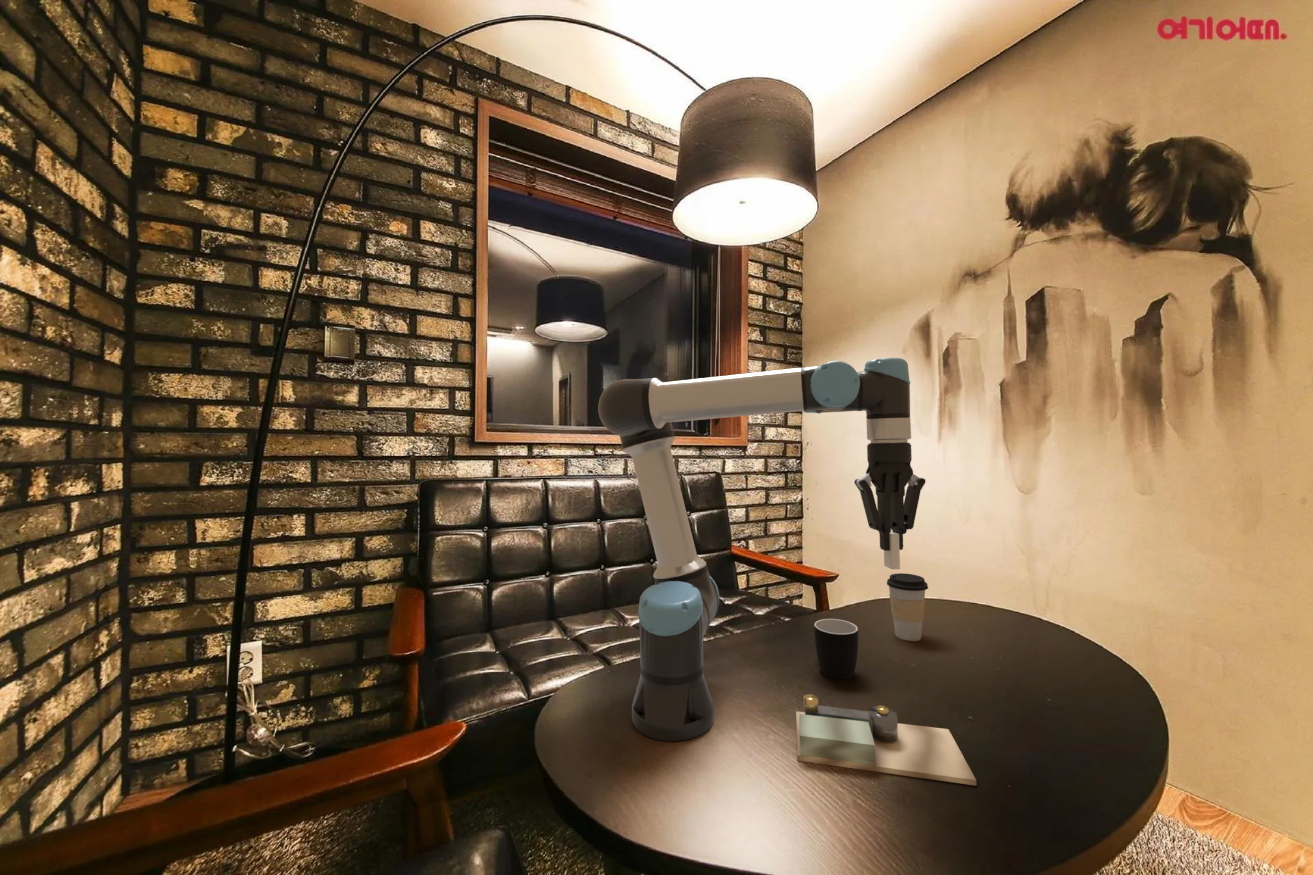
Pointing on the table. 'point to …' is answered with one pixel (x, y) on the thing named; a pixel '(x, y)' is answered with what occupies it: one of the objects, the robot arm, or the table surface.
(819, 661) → the mug
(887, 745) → the board
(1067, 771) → the table surface
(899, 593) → the coffee cup
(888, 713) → the latch bar
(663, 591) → the robot arm
